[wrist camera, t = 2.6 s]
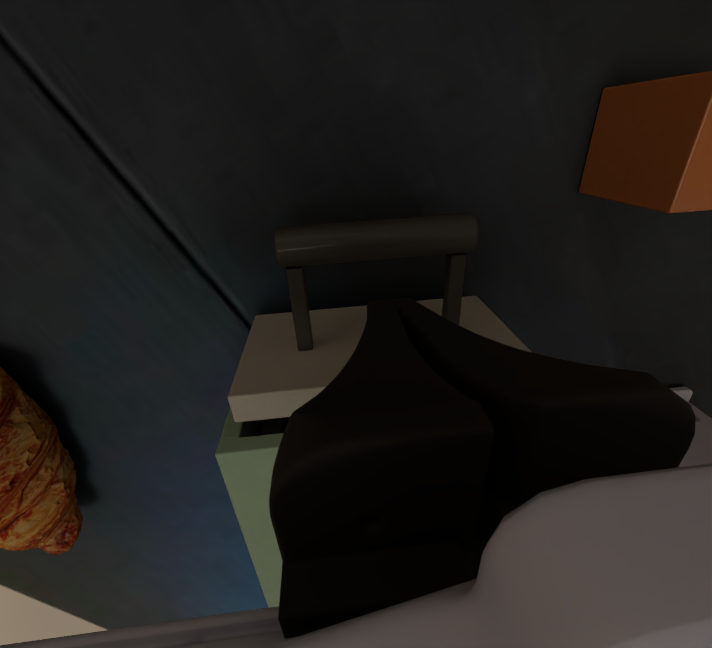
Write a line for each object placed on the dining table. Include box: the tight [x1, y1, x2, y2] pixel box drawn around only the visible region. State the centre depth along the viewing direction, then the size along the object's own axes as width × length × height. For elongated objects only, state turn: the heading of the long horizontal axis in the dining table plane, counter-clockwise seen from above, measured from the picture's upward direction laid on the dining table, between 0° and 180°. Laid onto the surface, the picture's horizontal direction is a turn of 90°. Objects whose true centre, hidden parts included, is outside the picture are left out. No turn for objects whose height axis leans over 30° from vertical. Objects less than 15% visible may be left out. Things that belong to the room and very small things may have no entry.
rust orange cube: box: [579, 71, 712, 213], centre depth 14 cm, size 4×4×5 cm
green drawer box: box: [215, 408, 284, 608], centre depth 19 cm, size 15×12×8 cm
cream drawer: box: [228, 213, 531, 435], centre depth 17 cm, size 19×11×6 cm, turn 3°
